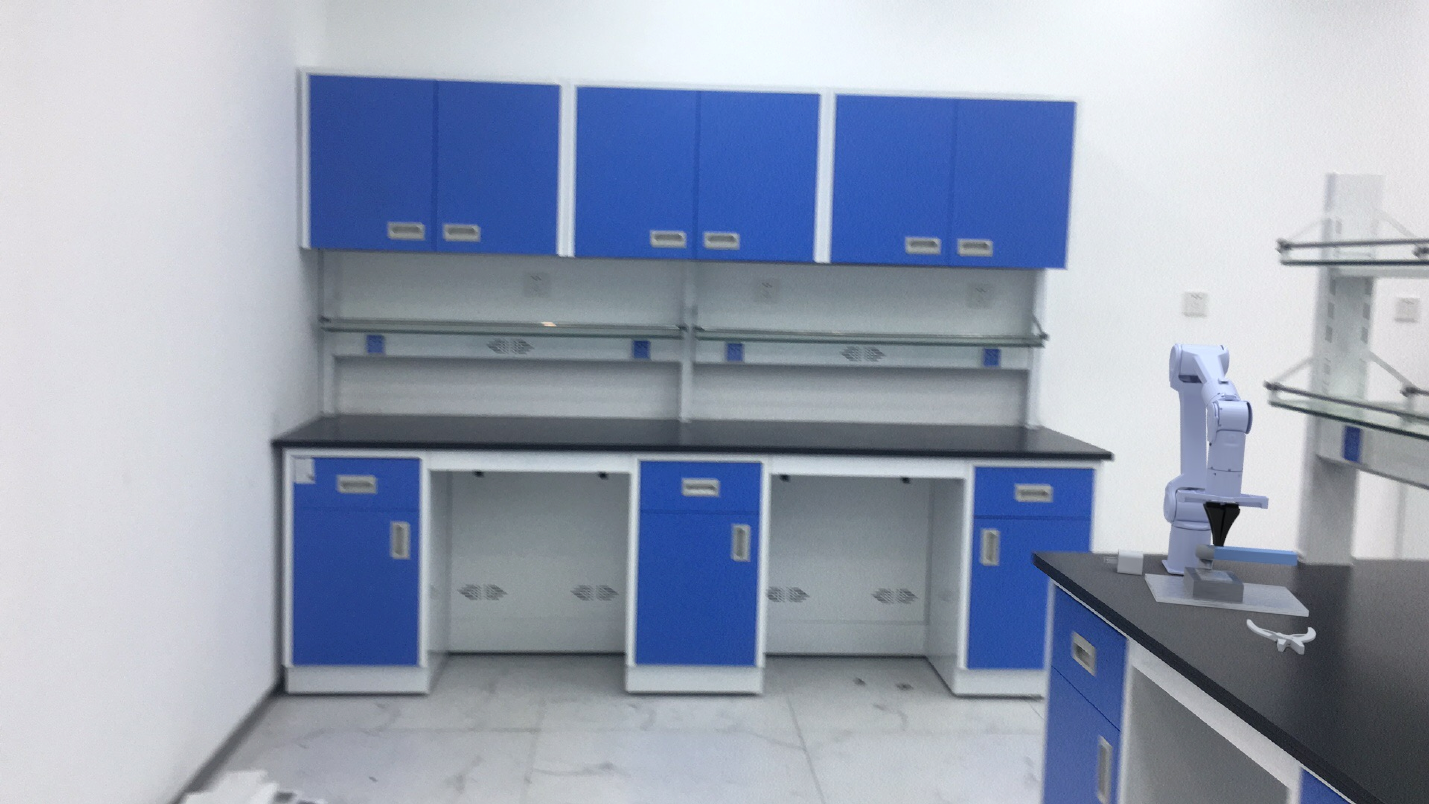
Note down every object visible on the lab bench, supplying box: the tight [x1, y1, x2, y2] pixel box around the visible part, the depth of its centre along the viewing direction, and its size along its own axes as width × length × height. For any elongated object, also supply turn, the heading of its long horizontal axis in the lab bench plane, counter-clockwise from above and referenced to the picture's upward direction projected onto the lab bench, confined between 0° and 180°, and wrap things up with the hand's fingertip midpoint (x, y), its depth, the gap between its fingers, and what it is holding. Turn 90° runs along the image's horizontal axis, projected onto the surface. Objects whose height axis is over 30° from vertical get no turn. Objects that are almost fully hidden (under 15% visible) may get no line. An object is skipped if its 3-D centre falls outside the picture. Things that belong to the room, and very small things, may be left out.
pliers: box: [1246, 619, 1317, 655], centre depth 174 cm, size 10×2×15 cm
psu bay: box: [1144, 558, 1310, 618], centre depth 197 cm, size 16×24×5 cm, turn 76°
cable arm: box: [1195, 544, 1299, 567], centre depth 202 cm, size 17×4×2 cm, turn 80°
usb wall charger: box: [1103, 548, 1144, 576], centre depth 213 cm, size 4×7×4 cm, turn 72°
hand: (1218, 545), depth 195 cm, fingers closed
